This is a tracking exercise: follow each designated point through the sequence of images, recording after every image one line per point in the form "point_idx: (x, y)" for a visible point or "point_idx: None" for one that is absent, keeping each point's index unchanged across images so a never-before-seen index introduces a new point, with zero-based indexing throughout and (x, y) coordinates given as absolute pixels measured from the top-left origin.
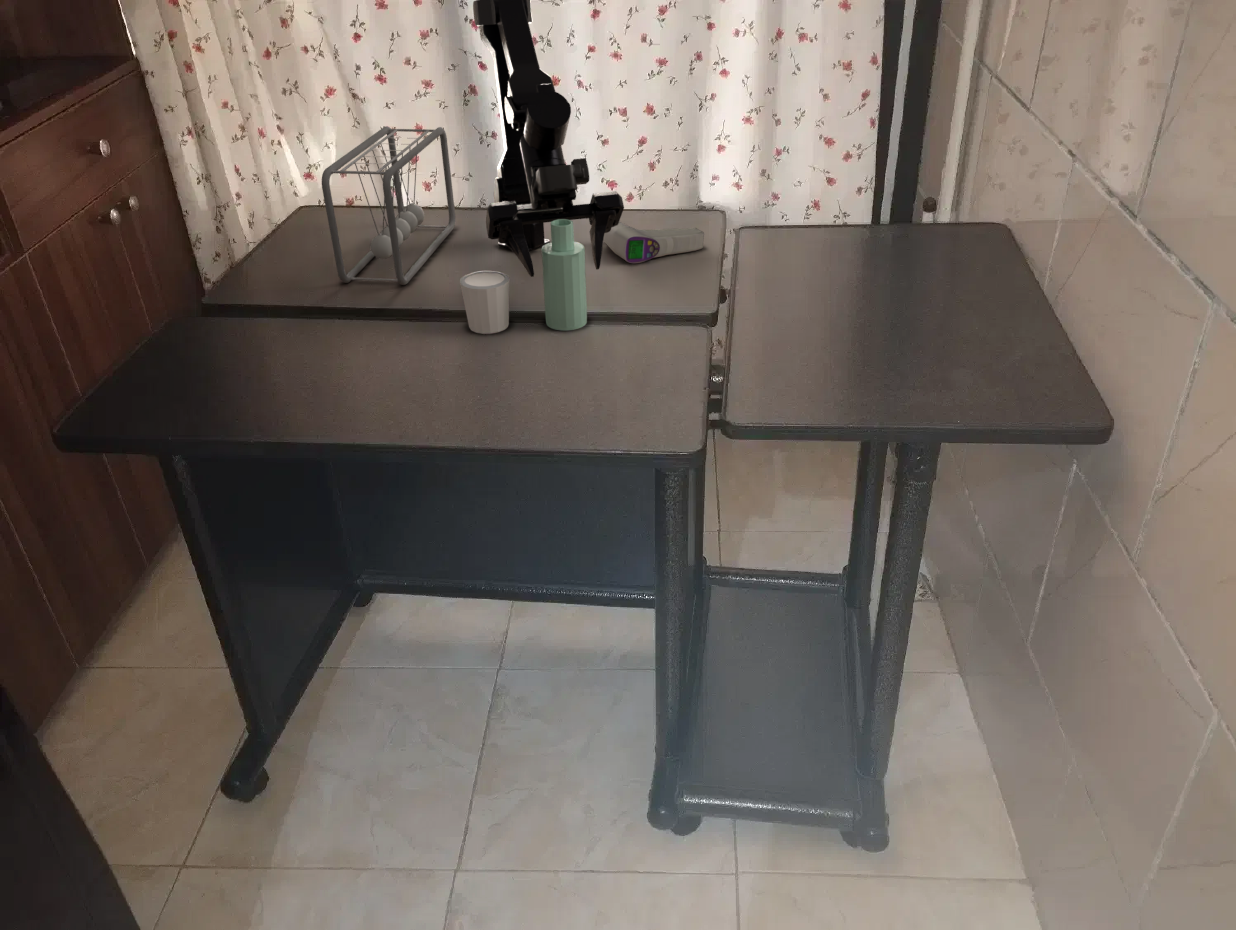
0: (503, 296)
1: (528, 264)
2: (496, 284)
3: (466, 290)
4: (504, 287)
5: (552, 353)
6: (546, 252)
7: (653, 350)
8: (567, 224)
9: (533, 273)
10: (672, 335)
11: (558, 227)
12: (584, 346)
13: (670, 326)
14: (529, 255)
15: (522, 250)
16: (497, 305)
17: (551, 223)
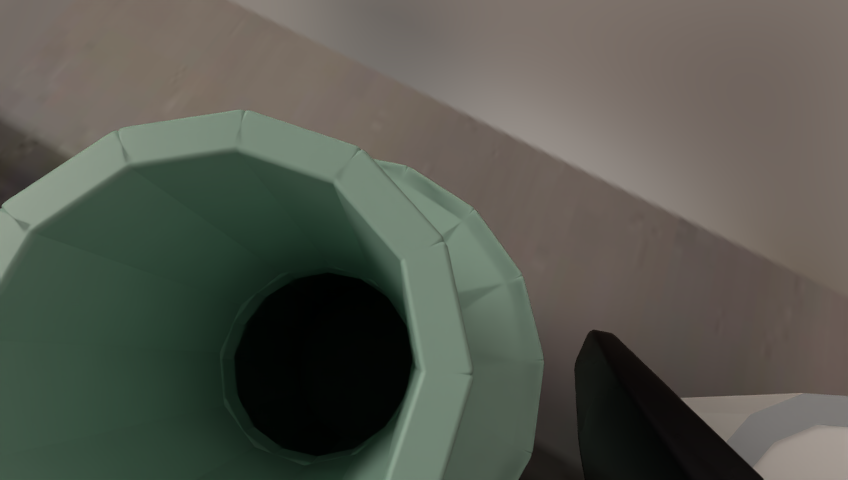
0: (708, 410)
1: (648, 372)
2: (801, 425)
3: None
4: (731, 420)
5: (519, 151)
6: (522, 310)
7: (227, 31)
8: (56, 450)
9: (594, 332)
10: (109, 90)
11: (381, 171)
12: (405, 149)
13: (66, 151)
14: (657, 420)
15: (751, 475)
16: (720, 397)
17: (437, 432)
